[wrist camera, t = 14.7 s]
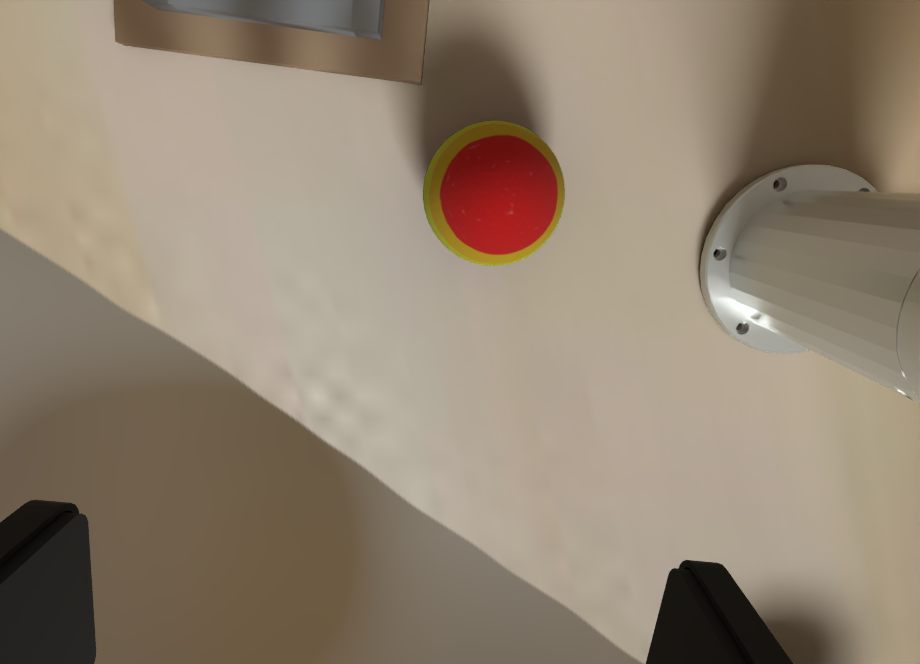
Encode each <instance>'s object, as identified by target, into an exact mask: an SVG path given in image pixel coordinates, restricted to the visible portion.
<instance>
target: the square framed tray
mask: <svg viewBox="0 0 920 664" xmlns="http://www.w3.org/2000/svg"><path fill="white" fill-rule="evenodd" d="M428 10H429V0H114V17H115V42H118V43H120V44H123V45H126V46H133V47H141V48H148V49H156V50H163V51H171V52H179V53H186V54H194V55H201V56H209V57H216V58H224V59H232V60H239V61H247V62H254V63H262V64H269V65H277V66H285V67H292V68H300V69H307V70H315V71H322V72H330V73H338V74H345V75H353V76H360V77H368V78H375V79H383V80H391V81H398V82H406V83H413V84H422V74H423V63H424V52H425V42H426V31H427V21H428Z"/></svg>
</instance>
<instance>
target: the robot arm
mask: <svg viewBox="0 0 920 664" xmlns="http://www.w3.org/2000/svg"><path fill="white" fill-rule="evenodd" d="M774 181H775V182H776V185H775V187H774V188H773V183H774ZM716 249H717V254H716V255H715V256H714V255H713V253H714V251H715V250H716ZM700 280H701V290H702V293H703V296H704V299H705V302H706V306H707V307H708V309H709V311H710V313H711V314H712V316H713V318H714V320H715V321H716V322H717V323H718V324H719V325H720V326H721V327H722V329H723V330H724V331H725V332H727V333H728V334H729V335H731V336H732V337H734V338H735V339H736V340H738V341H740V342H742V343H744V344H746V345H747V346H749V347H751V348H754V349H757V350H760V351H764V352H767V353H776V354H794V353H803V352H807V351H813V352H815V353H817V354H819V355H821V356H823V357H825V358H827V359H830V360H832V361H834V362H836V363H838V364H840V365H842V366H844V367H846V368H848V369H850V370H852V371H854V372H856V373H858V374H860V375H863V376H865V377H867V378H869V379H871V380H873V381H875V382H877V383H879V384H881V385H883V386H885V387H887V388H889V389H891V390H893V391H896V392H898V393H900V394H902V395H904V396H906V397H908V398H910V399H912V400H914V401H916V402H918V403H920V194H914V193H888V192H877V190H876V189H875V188H874V187H873V186H872V185H871V184H869V183H868V182H867V181H866V180H864V179H863V178H862V177H861V176H858V175H856V174H854V173H852V172H850V171H848V170H846V169H843V168H839V167H835V166H831V165H815V164H807V165H795V166H789V167H786V168H782V169H778V170H775V171H772V172H770V173H768V174H766V175H764V176H762V177H759V178H757V179H756V180H754V181H753V182H751V183H750V184H748V185H747V186H746V187H744V188H743V189H741V190H740V191H739V192H738V193H737V194H736V195H735V196H734V197H733V198H732V199H731V200H730V201H729V202H728V203H727V204H726V205H725V207H724V208H723V209H722V211H721V212H720V214H719V215H718V216H717V218H716V219H715V221H714V223H713V225H712V227H711V229H710V231H709V233H708V235H707V237H706V241H705V244H704V248H703V251H702V255H701V265H700ZM738 324H739V326H738V327H737V325H738ZM736 327H737V328H736ZM95 657H96V642H95V626H94V610H93V595H92V577H91V563H90V545H89V529H88V520H87V517H86V516H85V515H83V514H79V510H78V508H77V507H76V505H74V504H72V503H65V502H54V501H43V500H31V501H29V502H27V503H25V504H24V505H23V506H21V507H20V508H19V509H17V510H16V511H15V512H14V513H12V514H11V515H10V516H8V517H7V518H6V519H5V520H3V521H2V522H0V664H94V662H95ZM646 664H793V663H792V662H791V660H790V659H789V657H788V656H787V655H786V653H785V652H784V650H783V649H782V647H781V646H780V645H779V643H778V642H777V640H776V639H775V637H774V636H773V635H772V633H771V632H770V630H769V629H768V628H767V626H766V625H765V623H764V622H763V620H762V619H761V618H760V616H759V615H758V613H757V612H756V611H755V609H754V608H753V606H752V605H751V603H750V602H749V601H748V599H747V598H746V596H745V595H744V593H743V592H742V591H741V589H740V588H739V586H738V585H737V584H736V582H735V581H734V579H733V578H732V576H731V575H730V574H729V572H728V571H727V569H726V568H725V567H724V566H723V565H722V564H719V563H713V562H702V561H691V560H685V561H683V562H682V563H681V564H680V566H679V569H676V568H674V569H672V570H671V571H670V573H669V575H668V579H667V583H666V587H665V591H664V595H663V599H662V602H661V606H660V610H659V614H658V618H657V622H656V626H655V630H654V634H653V638H652V642H651V645H650V649H649V653H648V657H647V661H646Z"/></svg>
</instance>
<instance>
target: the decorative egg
mask: <svg viewBox="0 0 920 664" xmlns="http://www.w3.org/2000/svg"><path fill="white" fill-rule="evenodd" d="M564 197H565V188H564V179H563V174H562V171H561V168H560V165H559V163H558V161H557V159H556V157H555V155H554V153H553V152H552V151H551V149H550V148H549V147H548V145H547V144H546V143H545V142H544V141H543V140H542V139H541V138H540V137H539V136H538V135H536V134H535V133H533V132H532V131H530V130H529V129H527V128H525V127H523V126H520V125H518V124H514V123H510V122H506V121H484V122H479V123H475V124H472V125H469V126H467V127H464V128H463V129H461V130H459V131H457V132H456V133H454V134H453V135H452V136H450V137H449V138H448V139H447V140H446V141H445V142H444V143H443V144H442V145H441V146H440V147H439V149H438V150H437V151H436V153H435V155H434V156H433V158H432V160H431V162H430V164H429V166H428V169H427V172H426V176H425V180H424V187H423V201H424V209H425V213H426V216H427V219H428V222H429V224H430V226H431V228H432V230H433V232H434V233H435V235H436V236H437V238H438V239H439V240H440V241H441V243H442V244H443V245H444V246H445V247H447V248H448V249H449V250H450V251H451V252H453V253H454V254H456V255H457V256H459V257H460V258H463V259H465V260H467V261H470V262H472V263H476V264H481V265H489V266H498V265H506V264H510V263H514V262H517V261H520V260H522V259H524V258H526V257H528V256H529V255H531V254H532V253H534V252H535V251H536V250H538V249H539V248H540V247H541V246H542V245H543V244H544V243H545V242H546V241H547V240H548V239H549V237H550V236H551V234H552V233H553V231H554V230H555V228H556V226H557V224H558V222H559V219H560V217H561V214H562V210H563V205H564Z"/></svg>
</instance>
